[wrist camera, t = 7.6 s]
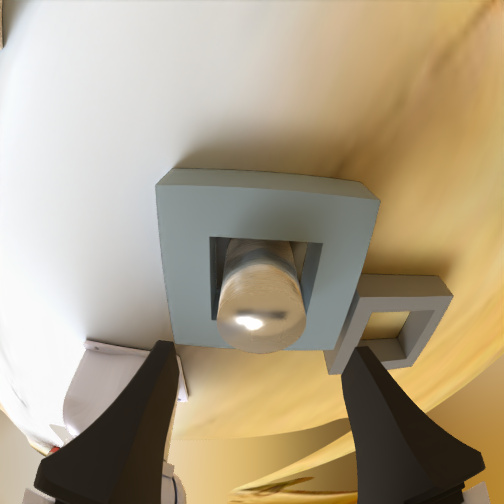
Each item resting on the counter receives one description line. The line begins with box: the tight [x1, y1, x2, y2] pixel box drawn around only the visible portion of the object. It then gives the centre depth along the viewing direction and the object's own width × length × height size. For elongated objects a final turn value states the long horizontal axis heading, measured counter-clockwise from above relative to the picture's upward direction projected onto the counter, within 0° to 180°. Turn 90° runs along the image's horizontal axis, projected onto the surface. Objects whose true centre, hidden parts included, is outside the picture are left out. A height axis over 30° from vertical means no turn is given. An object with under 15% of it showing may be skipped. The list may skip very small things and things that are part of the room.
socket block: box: [155, 169, 380, 350], centre depth 16 cm, size 10×10×3 cm
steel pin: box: [217, 238, 306, 354], centre depth 15 cm, size 4×4×6 cm
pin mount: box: [323, 274, 453, 375], centre depth 19 cm, size 8×8×2 cm
